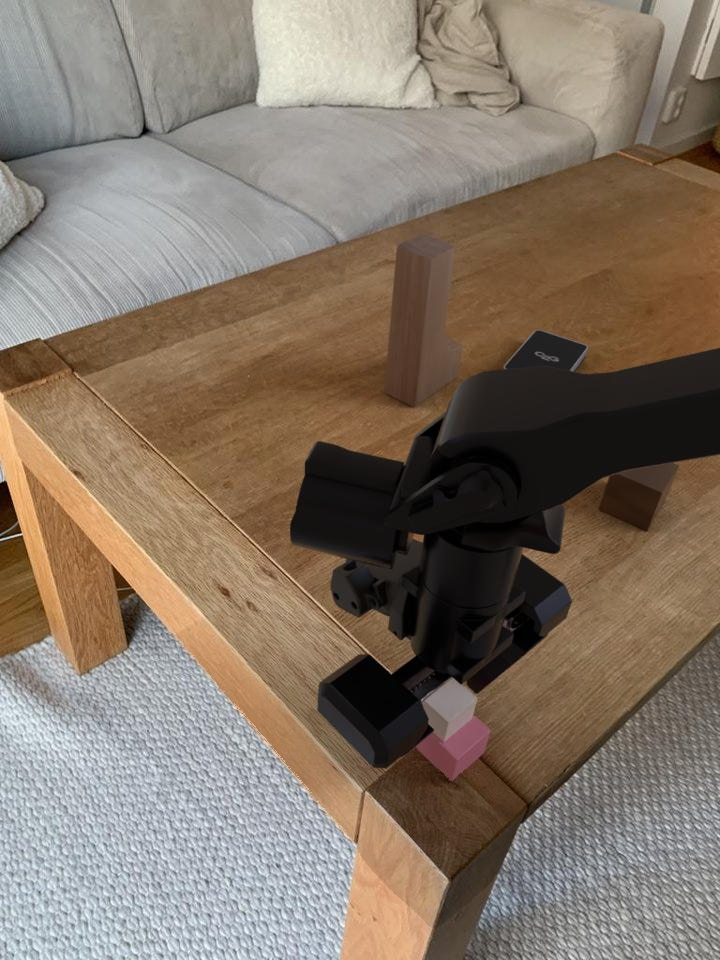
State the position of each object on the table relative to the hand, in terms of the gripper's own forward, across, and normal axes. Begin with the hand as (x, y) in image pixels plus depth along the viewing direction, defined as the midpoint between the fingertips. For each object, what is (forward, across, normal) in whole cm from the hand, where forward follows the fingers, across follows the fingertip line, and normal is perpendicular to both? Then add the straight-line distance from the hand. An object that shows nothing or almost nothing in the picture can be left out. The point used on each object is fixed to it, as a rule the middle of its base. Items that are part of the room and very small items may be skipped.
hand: (436, 718), depth 59 cm
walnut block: (+2, -33, -5) cm, 34 cm away
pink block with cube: (+2, 0, 0) cm, 2 cm away
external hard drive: (+2, -46, -26) cm, 53 cm away
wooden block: (+2, -32, -32) cm, 46 cm away
